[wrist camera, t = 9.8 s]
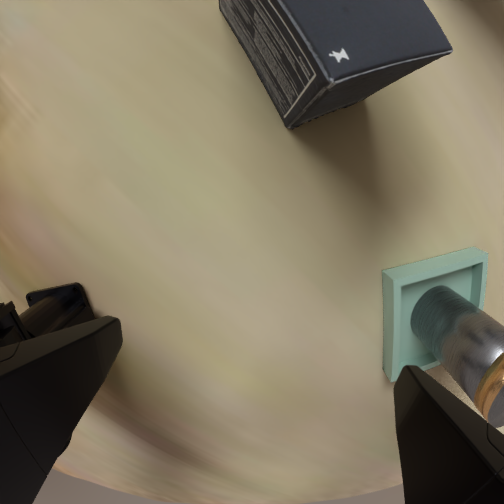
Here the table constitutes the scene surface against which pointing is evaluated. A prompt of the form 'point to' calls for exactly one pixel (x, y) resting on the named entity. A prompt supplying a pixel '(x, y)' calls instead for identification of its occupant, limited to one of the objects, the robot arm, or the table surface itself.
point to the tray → (408, 293)
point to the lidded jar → (464, 347)
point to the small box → (332, 49)
